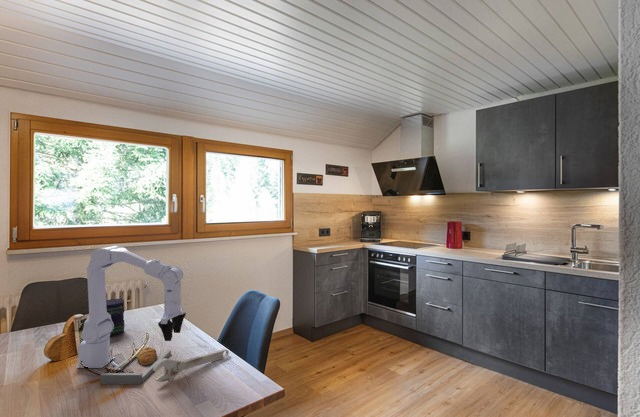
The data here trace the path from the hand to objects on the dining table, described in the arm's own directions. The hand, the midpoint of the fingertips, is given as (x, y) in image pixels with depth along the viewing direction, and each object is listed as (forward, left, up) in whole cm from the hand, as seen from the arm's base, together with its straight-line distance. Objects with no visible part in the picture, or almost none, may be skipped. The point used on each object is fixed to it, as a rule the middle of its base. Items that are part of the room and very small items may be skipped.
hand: (172, 336), depth 125 cm
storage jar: (-41, +29, -10) cm, 51 cm away
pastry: (-11, +3, -11) cm, 15 cm away
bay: (-11, -4, -10) cm, 15 cm away
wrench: (+10, -5, -11) cm, 15 cm away
